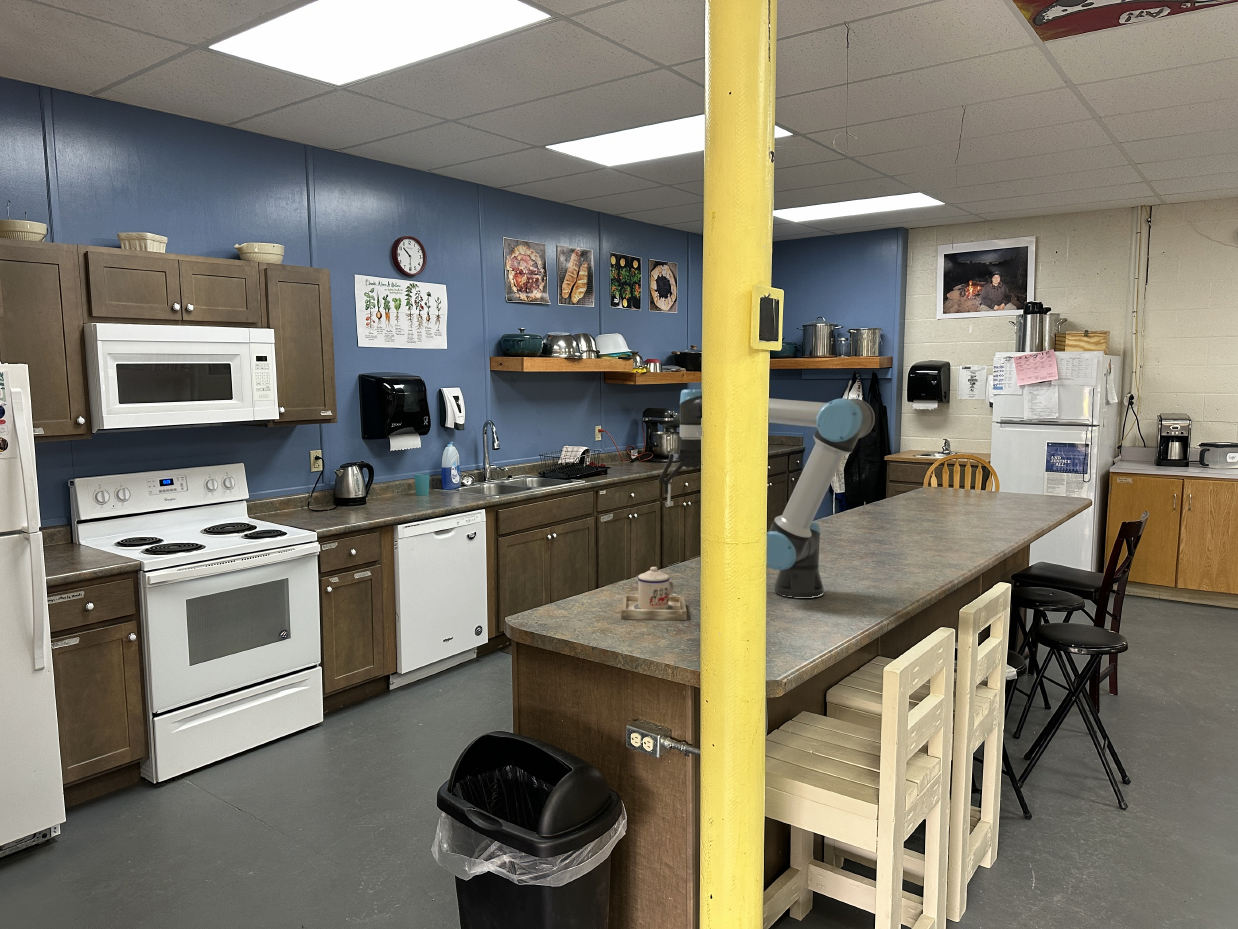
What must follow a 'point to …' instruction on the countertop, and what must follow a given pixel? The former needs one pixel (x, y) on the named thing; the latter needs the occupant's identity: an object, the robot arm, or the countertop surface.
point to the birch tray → (673, 611)
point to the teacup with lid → (654, 590)
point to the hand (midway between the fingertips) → (690, 505)
